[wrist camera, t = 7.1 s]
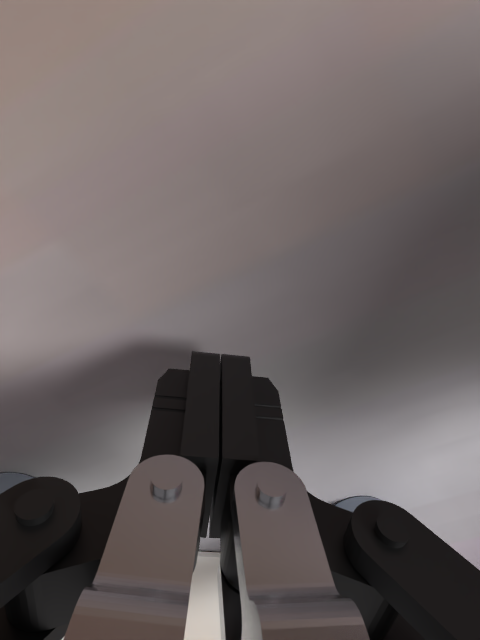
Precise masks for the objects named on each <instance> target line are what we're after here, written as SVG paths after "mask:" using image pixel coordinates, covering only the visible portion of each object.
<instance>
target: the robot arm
mask: <svg viewBox="0 0 480 640" xmlns="http://www.w3.org/2000/svg"><path fill="white" fill-rule="evenodd" d="M209 516H210V527H209V538H220V562H219V567H218V573H217V582H218V597H219V613H220V629H221V640H480V570H478V569H477V568H476V567H475V566H474V565H472V564H471V563H470V562H469V561H467V560H466V559H465V558H464V557H463V556H461V555H460V554H459V553H458V552H456V551H455V550H454V549H453V548H451V547H450V546H449V545H448V544H447V543H445V542H444V541H443V540H442V539H440V538H439V537H438V536H437V535H436V534H434V533H433V532H432V531H431V530H429V529H428V528H427V527H426V526H425V525H423V524H422V523H421V522H420V521H418V520H417V519H416V518H415V517H414V516H412V515H411V514H410V513H408V512H407V511H406V510H404V509H403V508H401V507H399V506H397V505H395V504H393V503H390V502H386V501H381V500H370V501H366V502H363V503H361V504H360V505H358V506H357V507H356V509H355V510H354V512H351V511H348V510H345V509H342V508H340V507H337V506H334V505H331V504H328V503H326V502H324V501H321V500H320V499H318V498H316V497H314V496H313V495H312V494H310V493H309V492H308V491H307V490H306V488H305V485H304V484H303V482H302V480H301V479H300V478H299V477H298V476H297V475H296V474H295V473H294V472H293V468H292V463H291V457H290V452H289V447H288V441H287V436H286V430H285V425H284V421H283V414H282V409H281V404H280V398H279V393H278V390H277V389H276V388H275V386H274V385H273V384H272V382H271V381H270V380H269V379H268V378H265V377H254V376H252V373H251V364H250V357H246V356H236V355H226V354H222V355H221V360H220V354H215V353H204V352H194V351H192V356H191V364H190V371H189V370H178V369H168V370H167V371H166V373H165V374H164V375H163V376H162V377H161V378H160V379H159V380H158V383H157V387H156V392H155V398H154V401H153V406H152V410H151V415H150V419H149V424H148V428H147V433H146V437H145V442H144V447H143V451H142V456H141V459H140V462H139V464H138V465H137V466H136V467H135V468H134V470H133V471H132V473H131V474H130V475H129V476H128V477H127V478H125V479H124V480H123V481H121V482H119V483H117V484H115V485H112V486H110V487H107V488H103V489H98V490H94V491H89V492H84V493H79V494H78V492H77V490H76V489H75V488H74V486H73V485H71V484H70V483H69V482H67V481H65V480H63V479H59V478H56V477H38V478H33V479H29V480H26V481H23V482H21V483H18V484H16V485H15V486H13V487H11V488H9V489H8V490H6V491H4V492H3V493H1V494H0V640H61V639H62V638H63V637H64V636H65V637H64V639H63V640H184V634H185V627H186V619H187V612H188V604H189V596H190V588H191V581H192V574H193V572H194V570H195V567H196V563H197V556H198V550H199V543H200V537H203V538H206V535H207V529H208V522H209Z"/></svg>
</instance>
